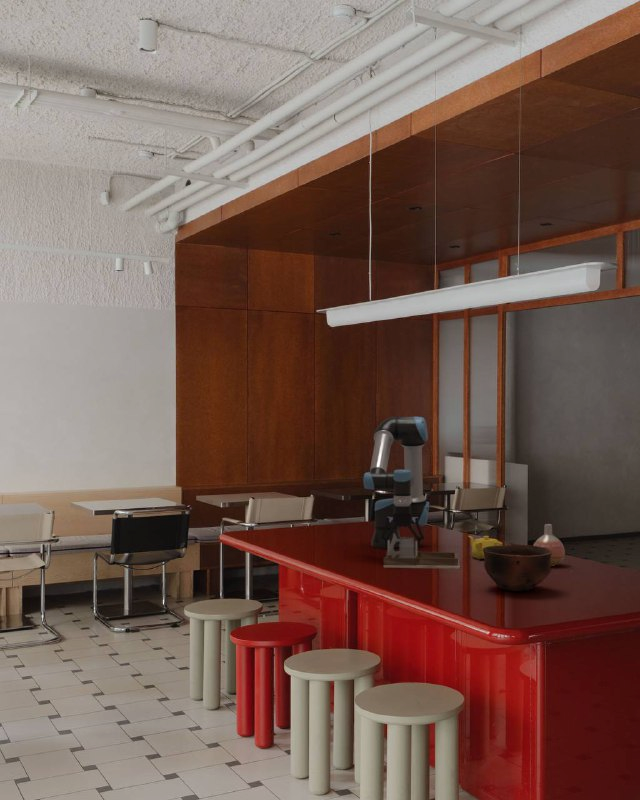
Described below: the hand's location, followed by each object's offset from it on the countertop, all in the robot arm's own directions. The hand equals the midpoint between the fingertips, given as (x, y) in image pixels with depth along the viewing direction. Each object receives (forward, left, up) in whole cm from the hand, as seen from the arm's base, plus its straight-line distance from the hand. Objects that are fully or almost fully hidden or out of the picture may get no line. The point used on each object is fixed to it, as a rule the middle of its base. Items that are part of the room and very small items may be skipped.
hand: (402, 555), depth 393 cm
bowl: (+53, +44, -4) cm, 69 cm away
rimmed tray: (0, +8, -4) cm, 9 cm away
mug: (0, 0, -2) cm, 2 cm away
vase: (-2, +62, -4) cm, 62 cm away
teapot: (-18, +36, -4) cm, 41 cm away
